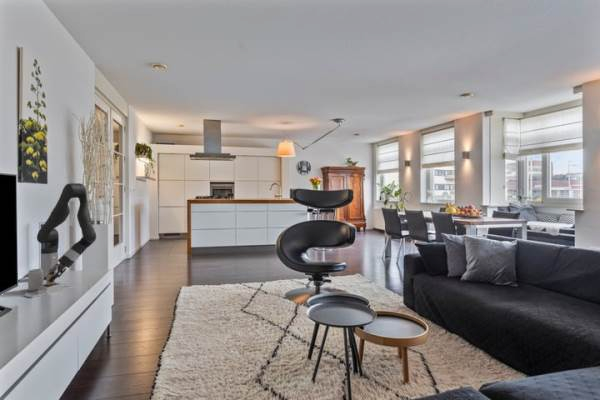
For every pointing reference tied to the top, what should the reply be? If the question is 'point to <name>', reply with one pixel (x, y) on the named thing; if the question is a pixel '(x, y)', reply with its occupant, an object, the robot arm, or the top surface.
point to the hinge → (49, 289)
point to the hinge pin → (48, 279)
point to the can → (35, 279)
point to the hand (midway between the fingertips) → (47, 280)
